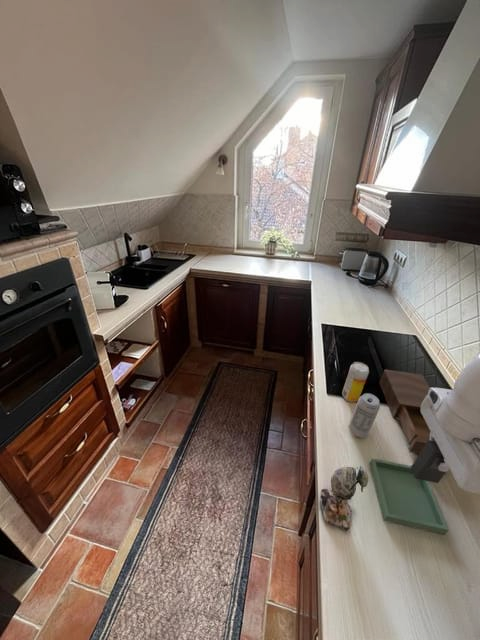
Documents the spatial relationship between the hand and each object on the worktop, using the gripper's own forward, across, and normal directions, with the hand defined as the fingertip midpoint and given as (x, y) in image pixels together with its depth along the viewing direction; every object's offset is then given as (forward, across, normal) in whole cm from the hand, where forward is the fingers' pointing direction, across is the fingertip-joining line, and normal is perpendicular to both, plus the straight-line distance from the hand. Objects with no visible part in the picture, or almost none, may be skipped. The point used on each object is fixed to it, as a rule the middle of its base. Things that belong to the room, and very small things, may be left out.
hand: (436, 458), depth 59 cm
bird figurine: (+17, -6, +20) cm, 27 cm away
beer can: (+17, +32, +10) cm, 38 cm away
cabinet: (+17, +34, -10) cm, 40 cm away
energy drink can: (+17, +18, +10) cm, 26 cm away
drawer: (+16, +19, -10) cm, 26 cm away
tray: (+17, 0, +2) cm, 17 cm away
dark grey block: (+7, 0, 0) cm, 7 cm away
